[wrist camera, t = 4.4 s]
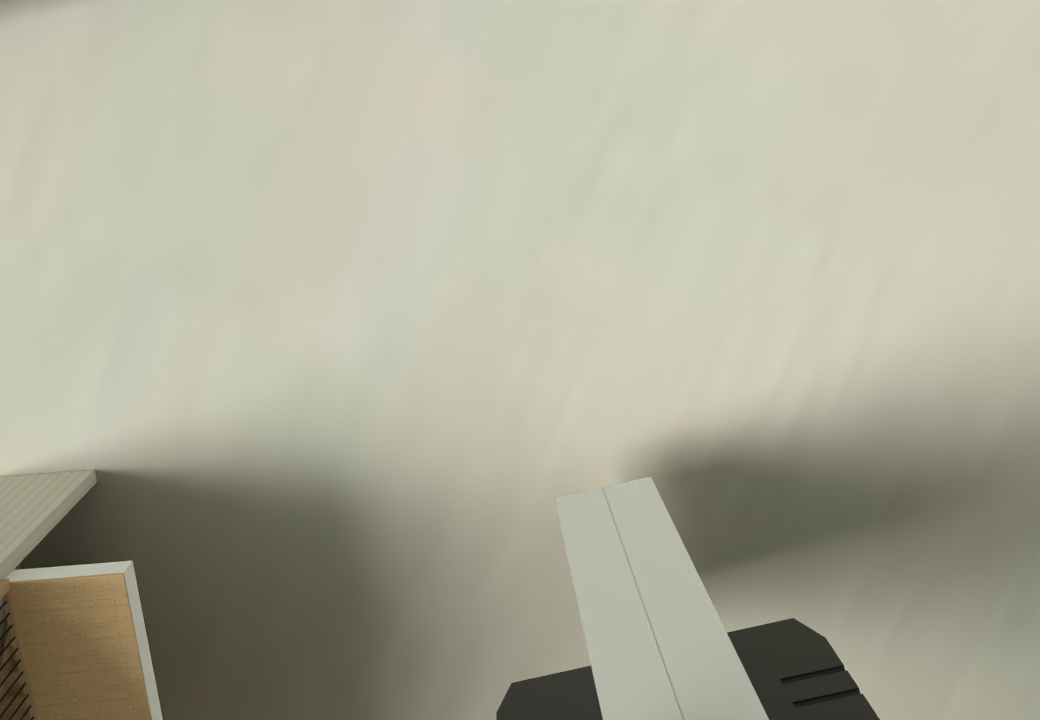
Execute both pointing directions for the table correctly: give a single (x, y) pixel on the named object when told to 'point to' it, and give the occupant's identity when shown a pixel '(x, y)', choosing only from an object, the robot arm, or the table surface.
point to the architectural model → (67, 618)
